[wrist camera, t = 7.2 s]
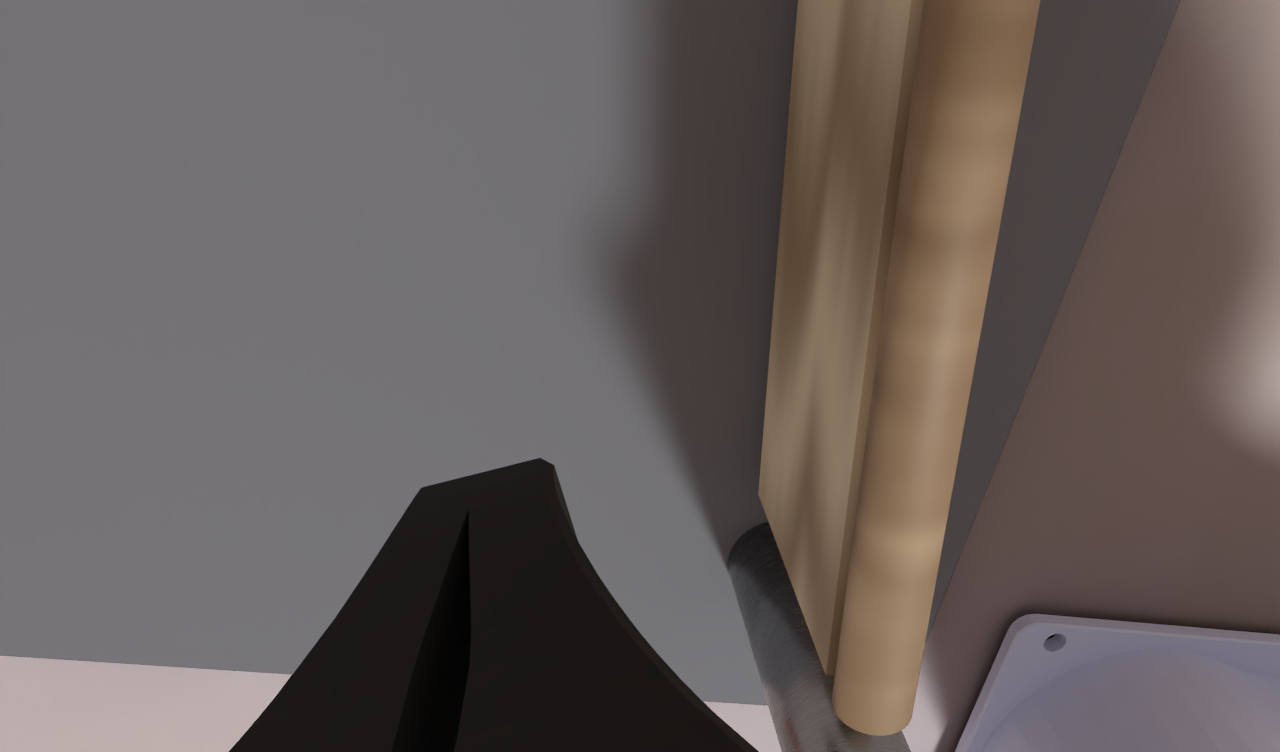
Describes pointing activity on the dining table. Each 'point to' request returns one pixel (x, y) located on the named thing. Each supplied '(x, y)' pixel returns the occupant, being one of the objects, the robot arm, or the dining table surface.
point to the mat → (436, 297)
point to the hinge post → (791, 654)
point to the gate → (883, 315)
